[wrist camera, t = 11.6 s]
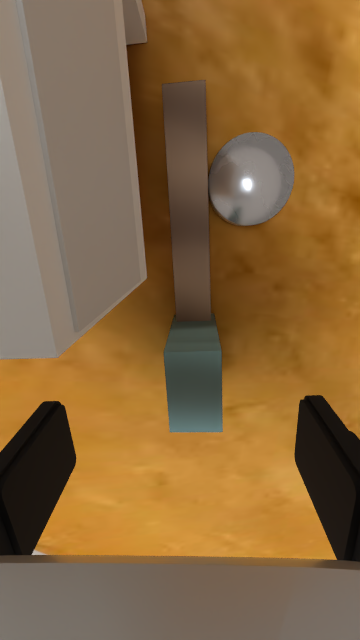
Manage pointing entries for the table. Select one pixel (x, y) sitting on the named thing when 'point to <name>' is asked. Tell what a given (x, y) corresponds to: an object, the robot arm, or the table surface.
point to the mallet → (190, 267)
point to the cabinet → (66, 170)
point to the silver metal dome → (250, 179)
